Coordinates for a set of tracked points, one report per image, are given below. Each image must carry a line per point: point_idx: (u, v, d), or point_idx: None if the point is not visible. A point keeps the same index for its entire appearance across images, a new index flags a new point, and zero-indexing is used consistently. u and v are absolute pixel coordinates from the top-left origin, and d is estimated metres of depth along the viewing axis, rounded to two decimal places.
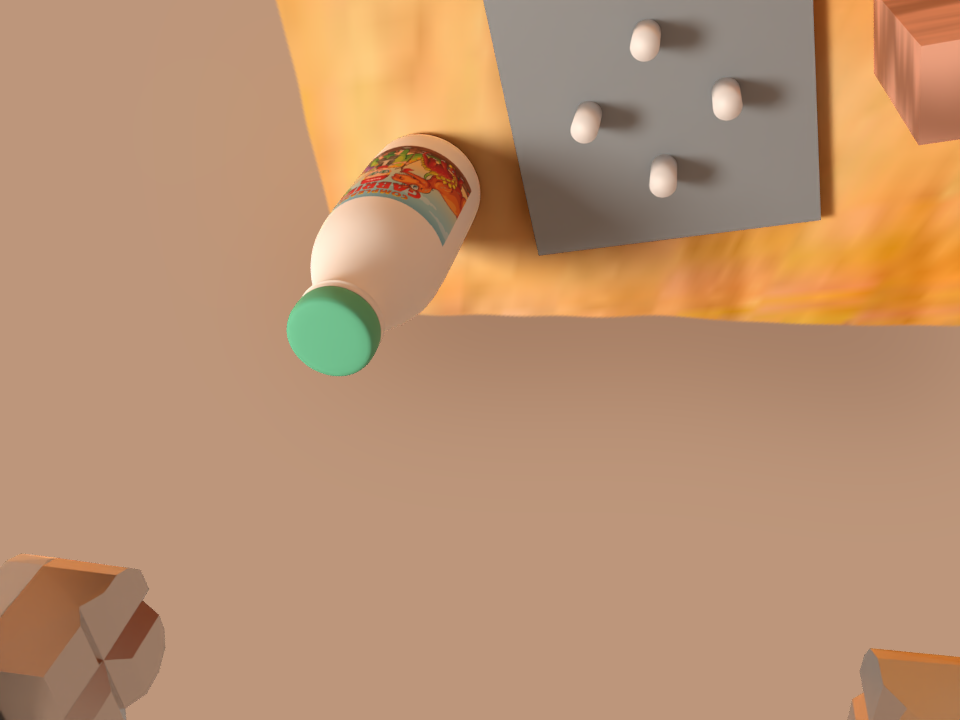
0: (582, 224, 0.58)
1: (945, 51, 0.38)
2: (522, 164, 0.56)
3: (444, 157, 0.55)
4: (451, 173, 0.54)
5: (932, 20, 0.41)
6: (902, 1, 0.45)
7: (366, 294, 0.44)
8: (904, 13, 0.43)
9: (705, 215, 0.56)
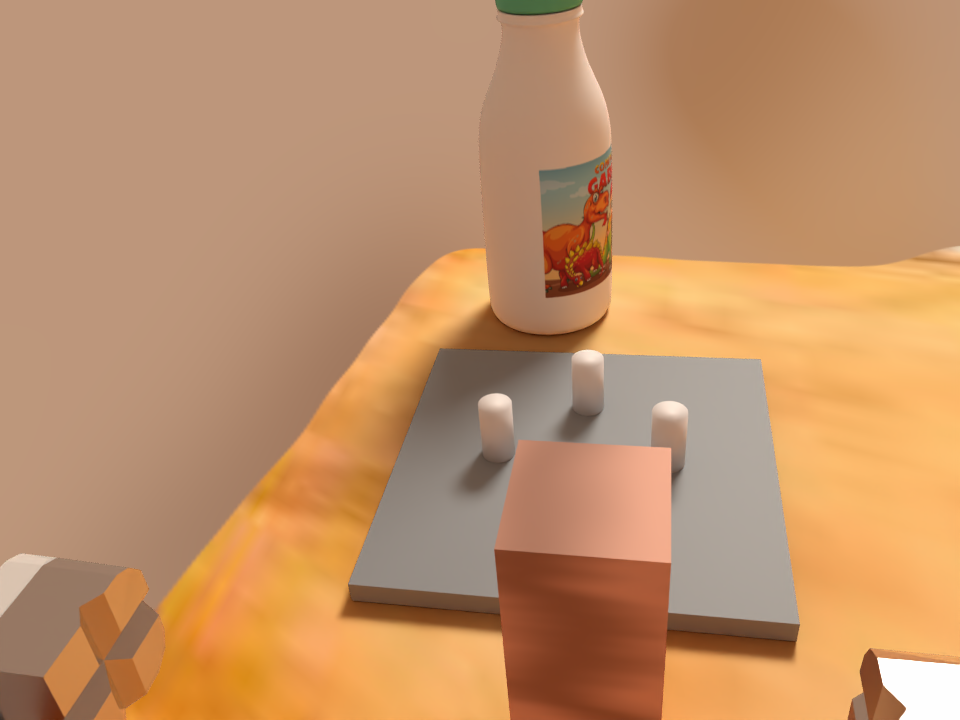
0: (459, 382, 0.48)
1: (656, 469, 0.25)
2: (550, 354, 0.50)
3: (589, 287, 0.52)
4: (576, 274, 0.51)
5: None
6: None
7: (560, 20, 0.45)
8: None
9: (417, 477, 0.42)
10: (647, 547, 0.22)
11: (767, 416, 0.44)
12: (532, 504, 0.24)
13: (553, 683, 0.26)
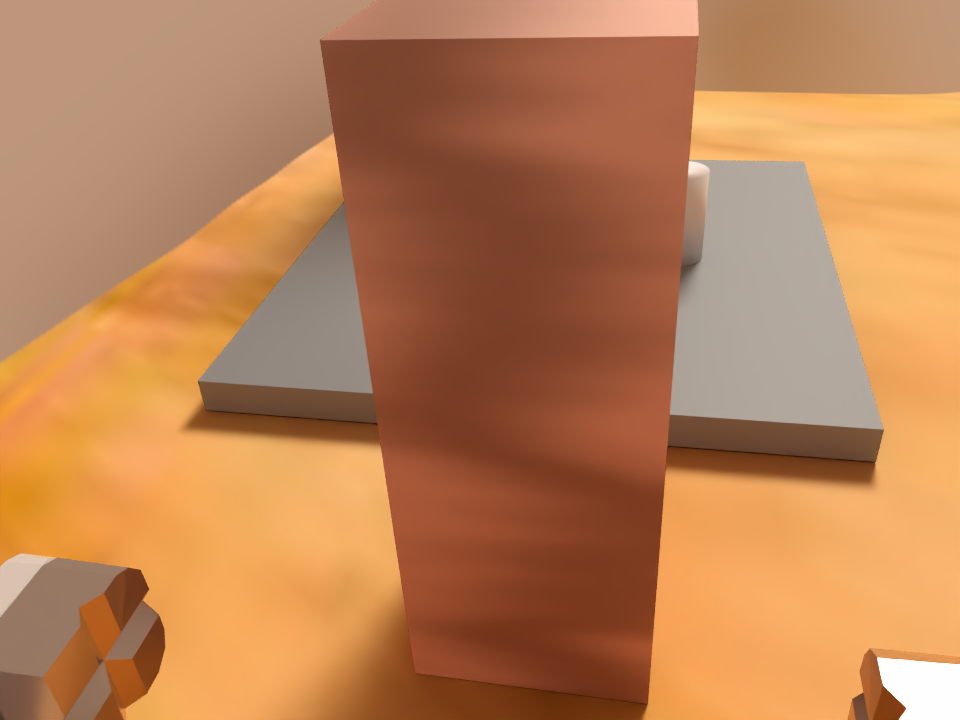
0: None
1: None
2: None
3: None
4: None
5: None
6: None
7: None
8: None
9: (325, 270, 0.30)
10: (646, 26, 0.10)
11: (816, 212, 0.32)
12: (416, 8, 0.12)
13: (460, 404, 0.13)
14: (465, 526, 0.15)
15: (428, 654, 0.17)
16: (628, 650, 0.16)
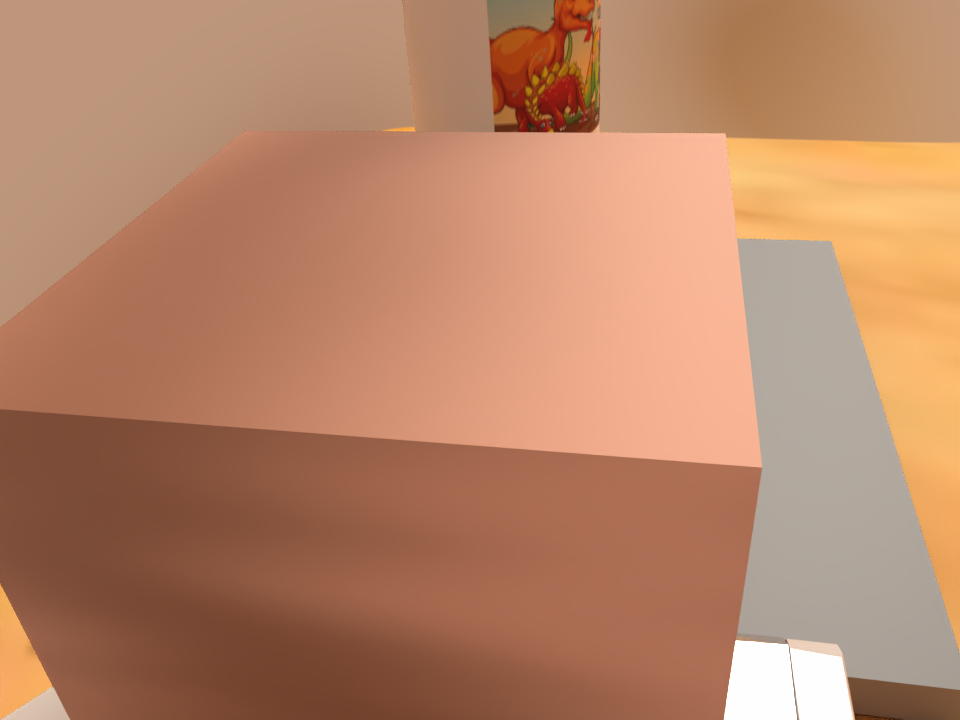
0: None
1: (675, 174, 0.07)
2: None
3: None
4: (543, 116, 0.33)
5: None
6: None
7: None
8: None
9: None
10: (635, 395, 0.04)
11: (851, 316, 0.26)
12: (183, 263, 0.06)
13: None
14: None
15: None
16: None
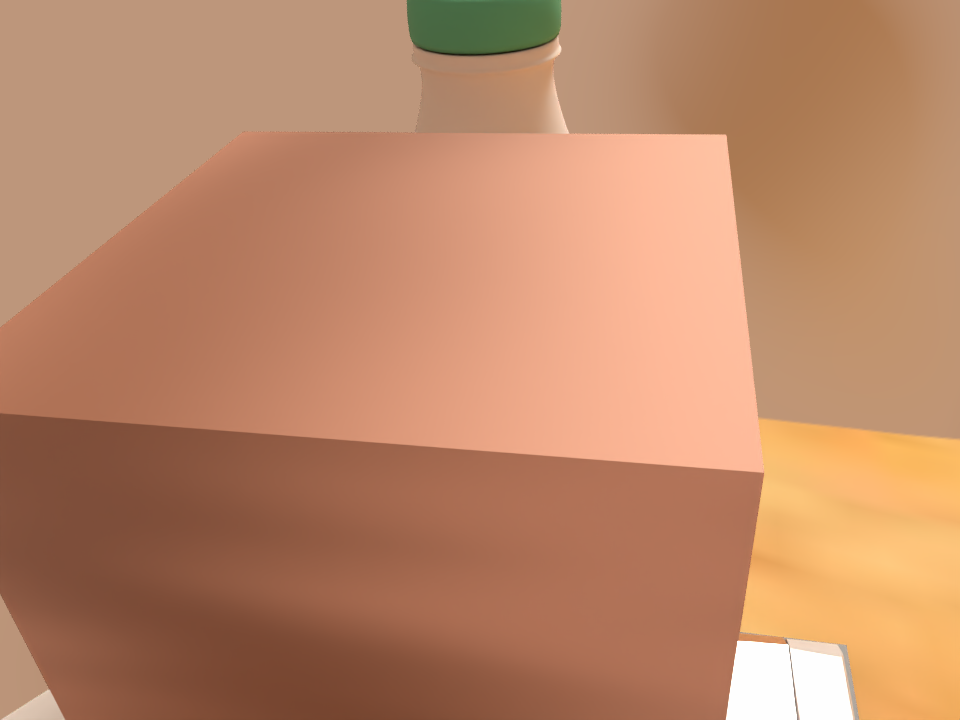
0: None
1: (676, 175, 0.07)
2: None
3: None
4: None
5: None
6: None
7: (517, 65, 0.25)
8: None
9: None
10: (636, 399, 0.04)
11: None
12: (181, 264, 0.06)
13: None
14: None
15: None
16: None
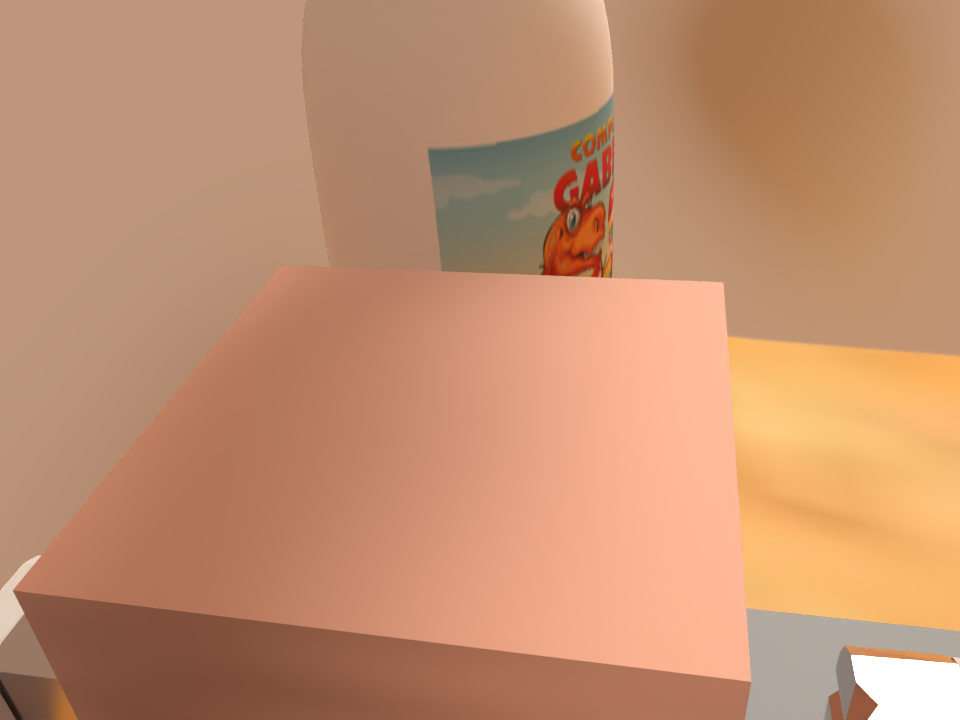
0: None
1: (678, 333, 0.08)
2: None
3: None
4: None
5: None
6: None
7: None
8: None
9: None
10: (641, 599, 0.05)
11: None
12: (238, 430, 0.07)
13: None
14: None
15: None
16: None
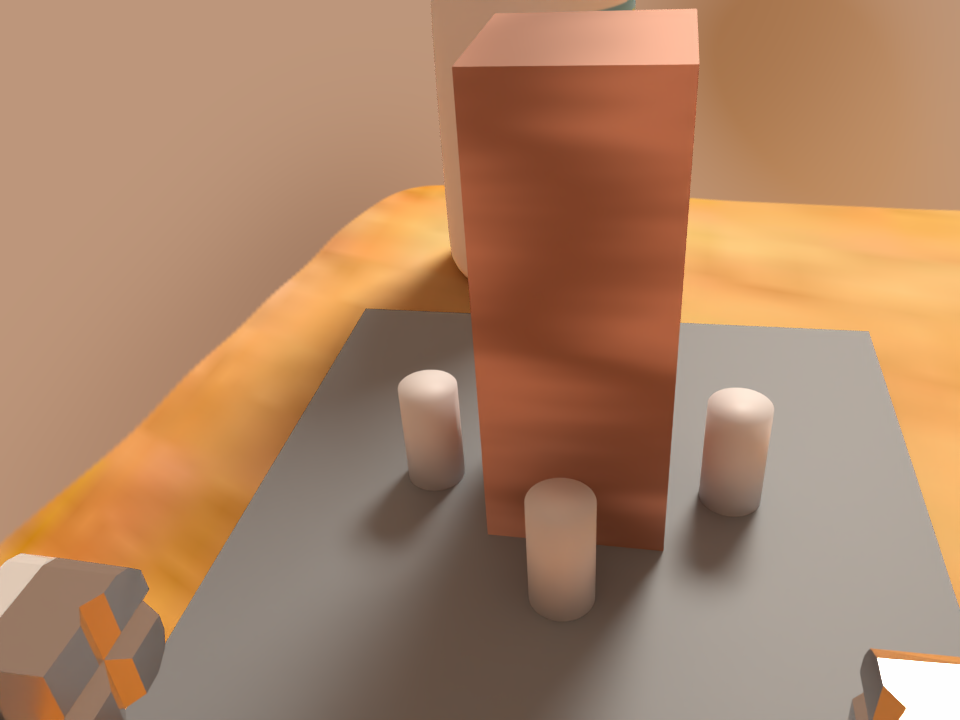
0: (387, 357, 0.30)
1: (677, 19, 0.18)
2: None
3: None
4: None
5: None
6: None
7: None
8: None
9: (290, 512, 0.24)
10: (665, 57, 0.16)
11: (895, 421, 0.26)
12: (507, 43, 0.18)
13: (533, 318, 0.19)
14: (532, 411, 0.20)
15: (499, 517, 0.23)
16: (649, 506, 0.21)
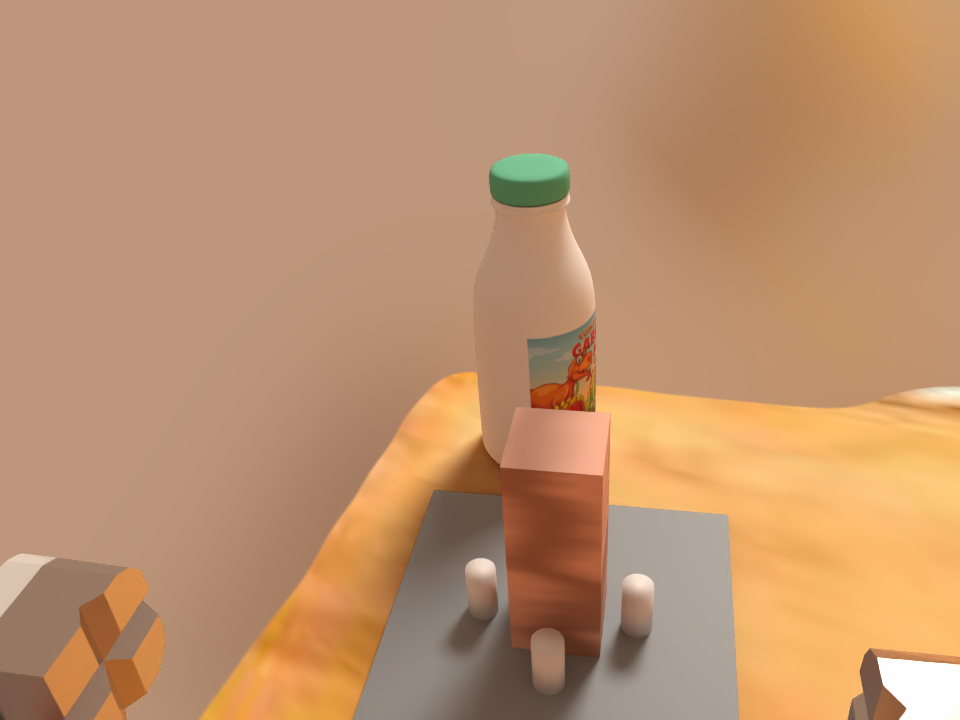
0: (450, 528, 0.53)
1: (600, 425, 0.41)
2: None
3: None
4: None
5: (607, 492, 0.42)
6: (606, 554, 0.45)
7: (548, 211, 0.49)
8: (607, 514, 0.44)
9: (408, 633, 0.46)
10: (590, 467, 0.38)
11: (729, 579, 0.48)
12: (523, 444, 0.40)
13: (534, 557, 0.41)
14: (534, 595, 0.43)
15: (517, 639, 0.45)
16: (591, 637, 0.43)
